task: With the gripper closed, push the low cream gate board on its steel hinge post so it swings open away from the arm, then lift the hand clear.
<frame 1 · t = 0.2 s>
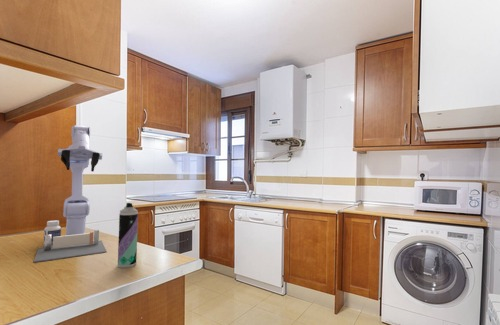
hand: (80, 168, 96), 31 cm above the countertop, tool tilted 45°, fingers open, 7 cm apart
pill bottle: (52, 246, 104), on the countertop
spray can: (127, 265, 84), on the countertop
mat: (72, 250, 98), on the countertop
posts: (76, 247, 102), resting on mat
gate: (73, 239, 102), point 3 cm above the countertop, hinge at 0.0°
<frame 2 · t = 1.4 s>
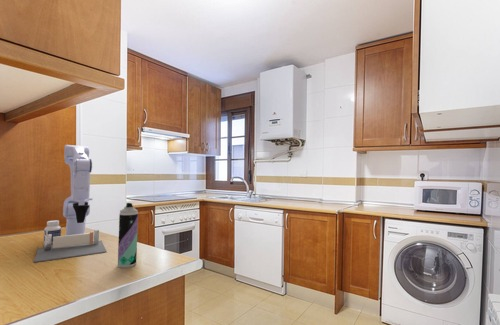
hand: (80, 221, 107), 9 cm above the countertop, tool pointing down, fingers open, 7 cm apart
nothing on the countertop moved.
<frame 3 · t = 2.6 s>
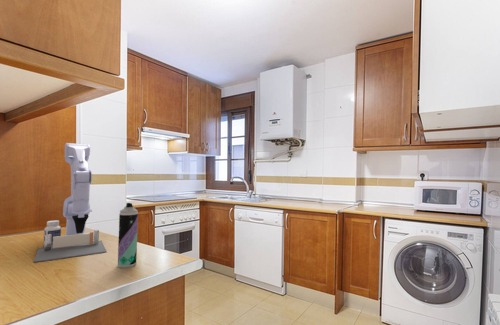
hand: (79, 232, 106), 5 cm above the countertop, tool pointing down, fingers closed
nothing on the countertop moved.
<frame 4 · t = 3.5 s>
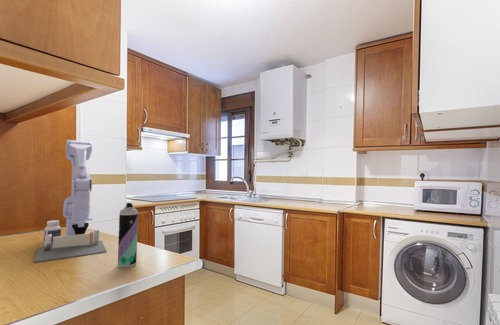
hand: (79, 242, 104), 2 cm above the countertop, tool pointing down, fingers closed
gate: (73, 239, 102), point 3 cm above the countertop, hinge at 1.2°, touching gripper
everything else where it was.
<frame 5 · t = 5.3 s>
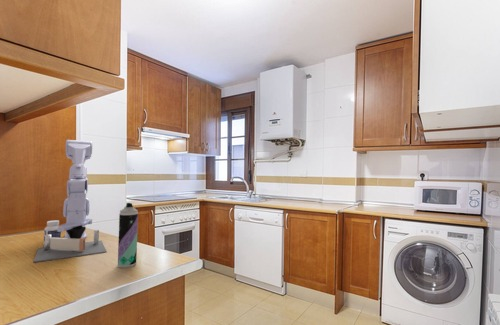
hand: (75, 247, 97), 2 cm above the countertop, tool pointing down, fingers closed
gate: (67, 243, 96), point 3 cm above the countertop, hinge at 41.3°, touching gripper
everything else where it was.
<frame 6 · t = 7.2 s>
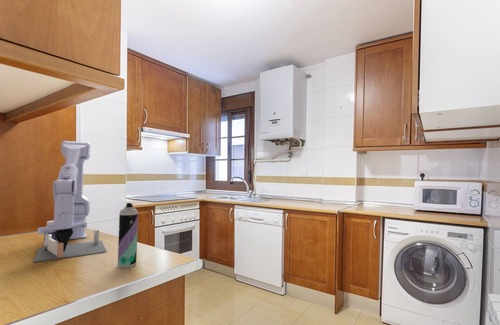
hand: (62, 251, 92), 2 cm above the countertop, tool pointing down, fingers closed
gate: (54, 246, 92), point 3 cm above the countertop, hinge at 73.4°, touching gripper
everything else where it was.
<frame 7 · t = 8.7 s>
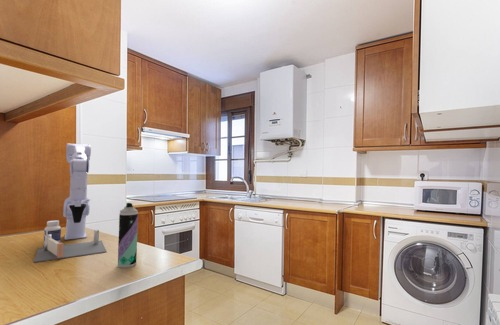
hand: (77, 222, 105), 9 cm above the countertop, tool pointing down, fingers closed
gate: (54, 246, 92), point 3 cm above the countertop, hinge at 73.5°
everything else where it was.
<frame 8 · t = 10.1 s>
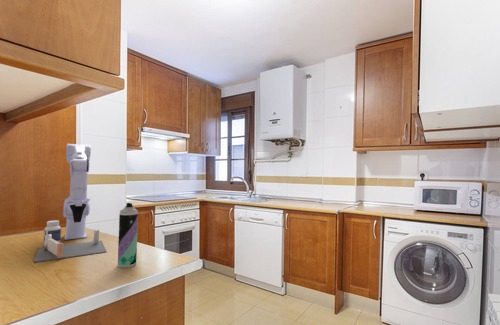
hand: (77, 222, 105), 9 cm above the countertop, tool pointing down, fingers closed
nothing on the countertop moved.
at the end: gate at +74° (first picture: +0°); pill bottle moved 0.2 cm from its start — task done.
